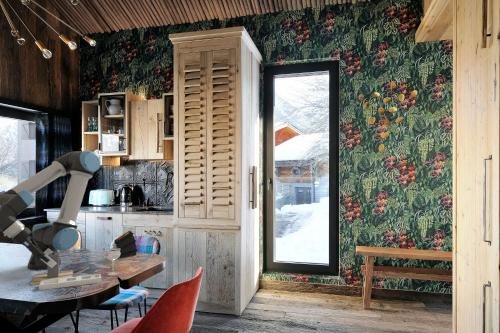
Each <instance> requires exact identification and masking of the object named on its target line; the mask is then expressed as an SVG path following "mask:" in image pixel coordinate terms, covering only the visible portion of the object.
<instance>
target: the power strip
mask: <svg viewBox="0 0 500 333" xmlns="http://www.w3.org/2000/svg"><path fill="white" fill-rule="evenodd" d="M100 283H102V274H101V273H96V274H95V273H94V274H88V275H87V274H86V275H79V276H72V277H68V278H60V279H51V280H43V281H41V282H40V285H38V291H45V290H51V289H52V290H54V289H58V288H59V289H60V288H68V287H76V286H83V285H92V284H100Z"/></svg>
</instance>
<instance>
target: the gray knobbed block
mask: <svg viewBox="0 0 500 333" xmlns="http://www.w3.org/2000/svg"><path fill="white" fill-rule="evenodd" d="M48 256H49V257H50V258H51V259H52V260H54V261H55V262H56V263H57V264H56V265H55V266H54V267H53V268H51V267H50V266H48V268H47V269H46V270H47V271H46V273H47V278H55V277H58V276H59V271H60V265H59V257H60V252H58V253H55V252H52V253H50V254H48Z"/></svg>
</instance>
